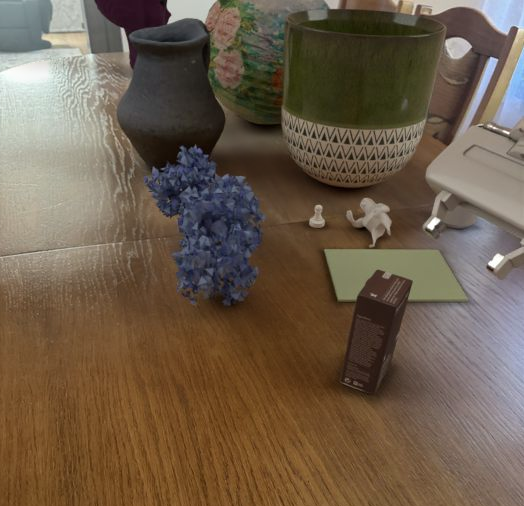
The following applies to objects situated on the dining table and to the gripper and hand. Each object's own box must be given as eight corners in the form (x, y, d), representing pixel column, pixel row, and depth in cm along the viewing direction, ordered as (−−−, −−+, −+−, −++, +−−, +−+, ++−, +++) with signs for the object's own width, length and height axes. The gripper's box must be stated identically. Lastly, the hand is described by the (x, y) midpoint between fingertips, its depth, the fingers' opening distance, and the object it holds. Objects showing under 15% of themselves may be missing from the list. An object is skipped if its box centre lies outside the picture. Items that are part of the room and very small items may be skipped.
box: (376, 397, 61) (396, 306, 54) (338, 383, 63) (353, 293, 55) (393, 366, 66) (414, 278, 58) (357, 354, 67) (373, 266, 60)
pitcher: (101, 172, 108) (78, 25, 93) (166, 140, 124) (157, 9, 108) (190, 195, 101) (182, 40, 86) (248, 158, 117) (250, 21, 101)
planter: (298, 212, 97) (311, 37, 80) (263, 158, 117) (267, 8, 100) (438, 202, 102) (478, 35, 85) (381, 151, 122) (405, 8, 106)
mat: (438, 251, 88) (438, 249, 88) (467, 301, 77) (468, 299, 77) (324, 251, 87) (324, 248, 86) (337, 301, 76) (338, 299, 76)
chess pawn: (308, 221, 95) (309, 201, 92) (323, 221, 95) (325, 201, 93) (310, 228, 93) (312, 208, 90) (325, 228, 93) (328, 208, 91)
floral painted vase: (339, 109, 147) (354, -29, 128) (328, 151, 122) (346, -13, 103) (219, 99, 151) (217, -36, 132) (185, 137, 125) (176, -23, 107)
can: (440, 207, 101) (457, 139, 93) (481, 219, 97) (502, 150, 90) (424, 222, 96) (440, 151, 88) (467, 234, 93) (487, 163, 85)
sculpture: (179, 79, 166) (172, -45, 147) (102, 81, 161) (84, -46, 142) (170, 65, 179) (162, -51, 160) (98, 67, 174) (81, -52, 155)
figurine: (348, 237, 87) (336, 203, 96) (378, 257, 89) (364, 222, 98) (375, 207, 84) (360, 175, 93) (405, 229, 86) (388, 196, 95)
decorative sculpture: (283, 224, 64) (231, 120, 85) (154, 250, 62) (133, 136, 83) (287, 318, 74) (240, 204, 95) (177, 342, 72) (154, 221, 93)
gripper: (470, 98, 61) (383, 199, 63) (646, 159, 47) (527, 285, 49) (488, 135, 65) (407, 227, 68) (654, 201, 52) (545, 314, 54)
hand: (458, 253), depth 58 cm, fingers open, 8 cm apart
